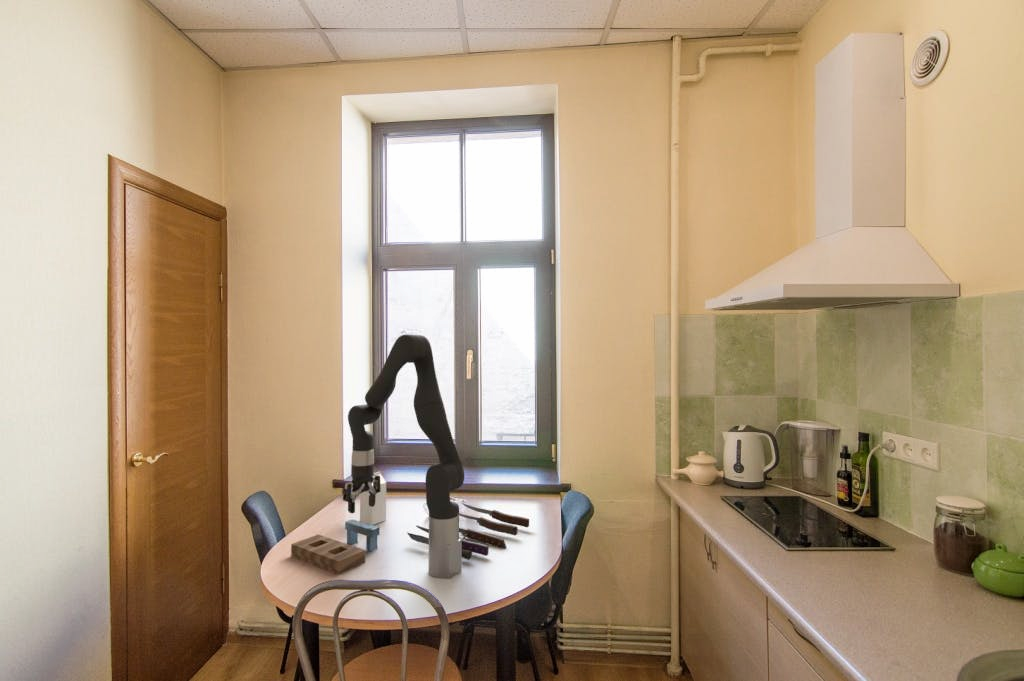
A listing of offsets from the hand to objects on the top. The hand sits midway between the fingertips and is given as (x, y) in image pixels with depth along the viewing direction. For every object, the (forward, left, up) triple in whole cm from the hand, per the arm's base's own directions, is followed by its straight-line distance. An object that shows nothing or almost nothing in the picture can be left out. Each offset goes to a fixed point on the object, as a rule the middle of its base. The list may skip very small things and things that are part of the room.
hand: (361, 509), depth 166 cm
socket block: (+1, +13, -13) cm, 18 cm away
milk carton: (+16, -19, -13) cm, 28 cm away
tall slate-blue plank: (0, 0, -13) cm, 13 cm away
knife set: (-26, -26, -13) cm, 39 cm away
